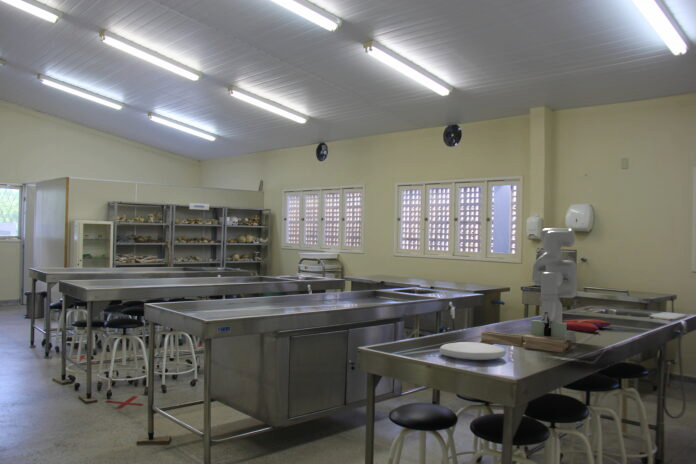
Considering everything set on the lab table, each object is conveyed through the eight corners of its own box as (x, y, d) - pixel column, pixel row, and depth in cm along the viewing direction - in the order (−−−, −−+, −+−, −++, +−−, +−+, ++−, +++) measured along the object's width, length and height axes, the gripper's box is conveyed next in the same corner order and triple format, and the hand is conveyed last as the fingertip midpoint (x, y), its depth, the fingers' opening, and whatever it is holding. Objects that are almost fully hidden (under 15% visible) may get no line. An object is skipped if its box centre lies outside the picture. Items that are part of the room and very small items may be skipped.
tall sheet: (531, 344, 262) (532, 319, 262) (566, 348, 253) (566, 323, 253) (530, 344, 260) (531, 320, 260) (565, 349, 251) (565, 323, 252)
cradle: (486, 340, 275) (486, 330, 275) (525, 345, 264) (526, 335, 264) (480, 343, 267) (480, 333, 267) (520, 348, 256) (520, 337, 256)
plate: (428, 345, 233) (458, 339, 253) (429, 360, 233) (459, 352, 253) (486, 348, 215) (514, 341, 235) (487, 365, 214) (515, 356, 234)
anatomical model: (611, 332, 328) (562, 328, 347) (611, 320, 328) (561, 317, 347) (598, 333, 304) (545, 329, 323) (598, 320, 305) (545, 317, 324)
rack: (529, 345, 265) (529, 332, 265) (571, 350, 254) (571, 336, 254) (521, 349, 253) (521, 335, 254) (565, 355, 242) (566, 340, 243)
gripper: (545, 295, 266) (544, 332, 266) (536, 298, 252) (536, 336, 252) (560, 297, 262) (560, 334, 262) (553, 299, 248) (552, 338, 248)
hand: (548, 335), depth 257 cm, fingers open, 3 cm apart
